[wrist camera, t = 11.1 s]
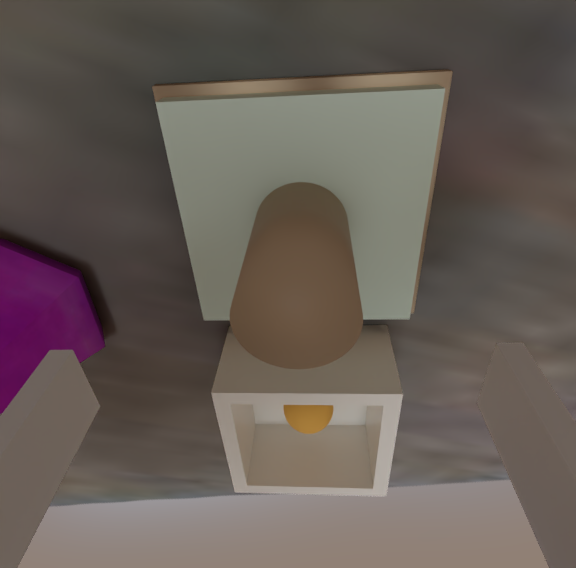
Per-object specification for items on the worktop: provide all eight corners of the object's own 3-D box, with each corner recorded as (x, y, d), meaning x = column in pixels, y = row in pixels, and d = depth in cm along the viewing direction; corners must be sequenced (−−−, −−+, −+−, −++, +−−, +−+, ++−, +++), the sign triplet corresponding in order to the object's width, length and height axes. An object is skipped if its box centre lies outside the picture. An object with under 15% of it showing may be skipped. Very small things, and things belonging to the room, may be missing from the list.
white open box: (246, 423, 34) (235, 492, 30) (229, 325, 28) (211, 392, 23) (375, 425, 34) (386, 496, 29) (387, 325, 27) (403, 394, 23)
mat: (204, 309, 28) (202, 314, 27) (156, 84, 20) (151, 86, 19) (411, 307, 26) (413, 313, 26) (448, 69, 19) (452, 71, 18)
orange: (286, 403, 31) (283, 444, 28) (283, 371, 29) (280, 411, 26) (332, 403, 31) (334, 444, 28) (332, 371, 29) (334, 412, 26)
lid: (207, 308, 27) (165, 427, 19) (163, 97, 19) (67, 154, 12) (406, 307, 26) (444, 431, 18) (438, 84, 18) (525, 137, 11)
